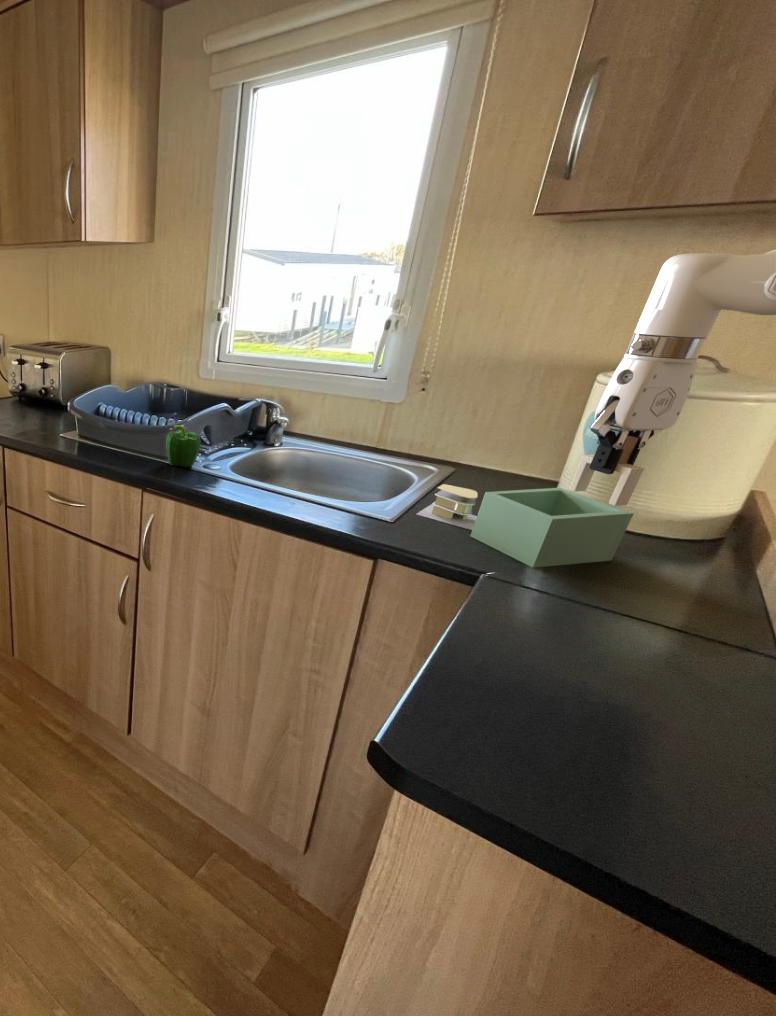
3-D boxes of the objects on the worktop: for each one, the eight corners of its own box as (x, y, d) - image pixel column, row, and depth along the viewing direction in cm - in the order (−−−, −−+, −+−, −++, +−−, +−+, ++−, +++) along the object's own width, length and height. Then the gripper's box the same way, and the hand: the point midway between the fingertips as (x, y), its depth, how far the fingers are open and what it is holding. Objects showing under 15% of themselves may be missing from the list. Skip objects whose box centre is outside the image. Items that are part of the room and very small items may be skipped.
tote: (542, 530, 105) (559, 487, 101) (611, 560, 94) (634, 513, 90) (469, 536, 102) (485, 491, 98) (532, 567, 91) (552, 519, 87)
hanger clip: (579, 489, 91) (605, 430, 87) (627, 505, 85) (656, 442, 81) (568, 489, 91) (593, 430, 87) (614, 506, 85) (644, 443, 80)
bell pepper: (200, 462, 140) (204, 423, 136) (194, 471, 133) (199, 431, 129) (168, 458, 143) (171, 420, 139) (161, 467, 136) (164, 427, 132)
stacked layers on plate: (415, 514, 111) (423, 488, 109) (431, 504, 116) (439, 479, 114) (472, 530, 104) (481, 503, 102) (486, 518, 110) (495, 493, 107)
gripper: (648, 352, 74) (592, 481, 81) (738, 352, 77) (676, 477, 84) (591, 345, 80) (543, 465, 88) (675, 346, 83) (623, 462, 91)
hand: (609, 470), depth 86 cm, fingers closed on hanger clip, 2 cm apart
